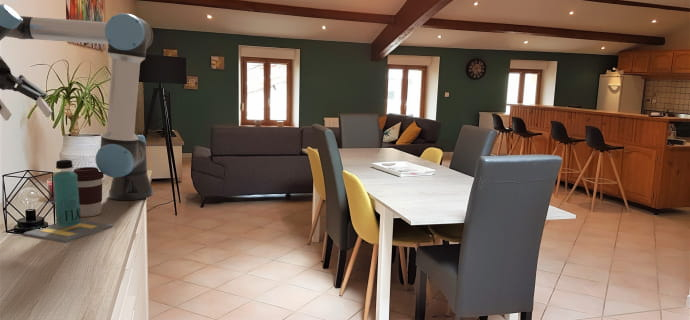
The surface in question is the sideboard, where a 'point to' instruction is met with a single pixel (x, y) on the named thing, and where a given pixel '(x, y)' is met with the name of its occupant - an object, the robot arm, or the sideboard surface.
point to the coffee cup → (89, 190)
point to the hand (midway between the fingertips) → (30, 116)
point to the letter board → (68, 231)
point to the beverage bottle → (66, 195)
